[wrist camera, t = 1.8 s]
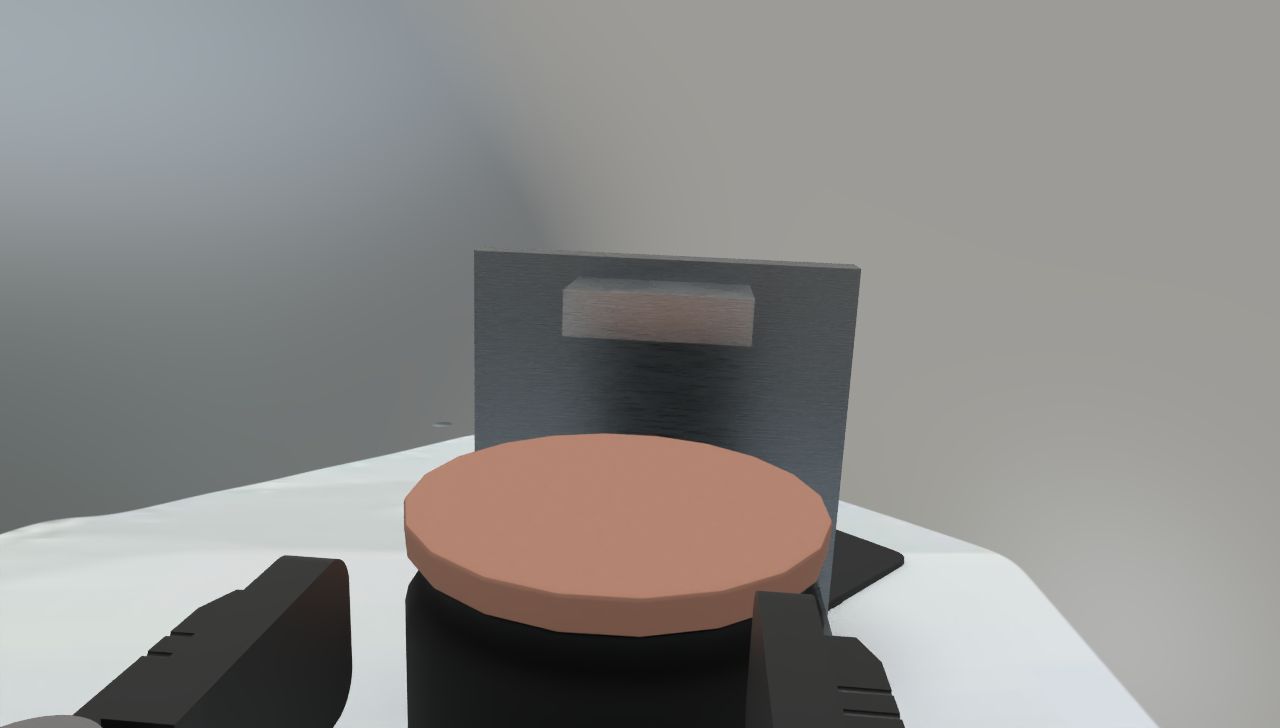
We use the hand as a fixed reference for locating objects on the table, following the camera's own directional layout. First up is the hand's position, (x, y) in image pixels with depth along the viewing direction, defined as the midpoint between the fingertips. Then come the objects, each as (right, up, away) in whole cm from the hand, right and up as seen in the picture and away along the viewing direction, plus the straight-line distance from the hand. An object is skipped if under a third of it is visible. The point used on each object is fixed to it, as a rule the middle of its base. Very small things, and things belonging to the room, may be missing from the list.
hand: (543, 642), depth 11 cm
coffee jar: (0, -17, +15) cm, 23 cm away
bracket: (+1, -13, +32) cm, 34 cm away
